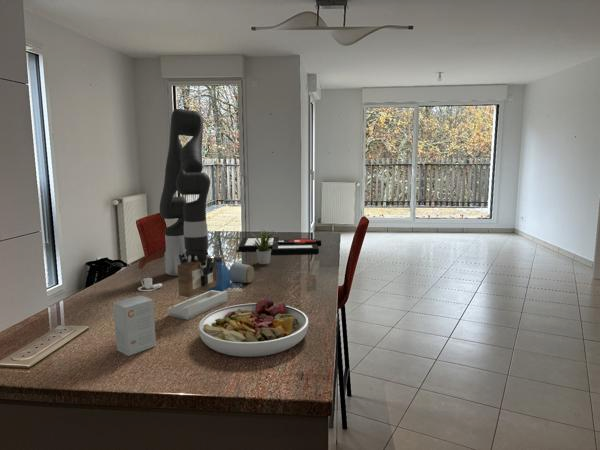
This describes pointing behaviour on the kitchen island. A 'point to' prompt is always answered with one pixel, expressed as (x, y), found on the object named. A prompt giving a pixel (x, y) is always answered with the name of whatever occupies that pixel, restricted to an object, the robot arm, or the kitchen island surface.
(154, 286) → the teacup and saucer
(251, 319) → the bowl
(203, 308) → the frame
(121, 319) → the small box
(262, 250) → the house plant
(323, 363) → the kitchen island surface
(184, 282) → the oak frame
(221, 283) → the perfume bottle
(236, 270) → the ceramic mug
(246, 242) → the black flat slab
